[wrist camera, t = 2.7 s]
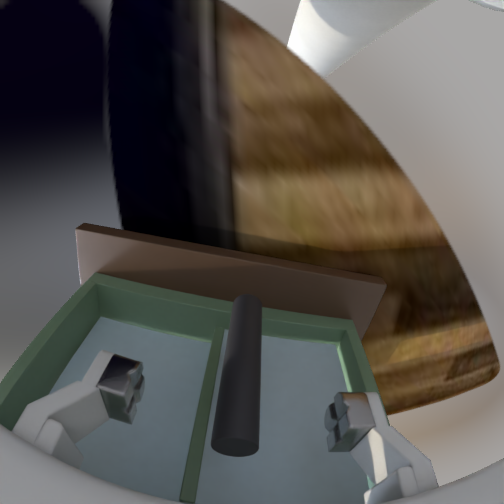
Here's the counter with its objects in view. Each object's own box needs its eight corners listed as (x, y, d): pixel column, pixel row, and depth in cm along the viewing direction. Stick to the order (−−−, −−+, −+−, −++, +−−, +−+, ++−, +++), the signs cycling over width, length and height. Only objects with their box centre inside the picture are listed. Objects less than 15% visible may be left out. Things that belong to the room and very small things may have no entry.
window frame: (84, 222, 17) (-80, 363, 4) (381, 276, 18) (489, 477, 4) (96, 331, 22) (13, 472, 8) (334, 375, 22) (364, 540, 9)
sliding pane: (224, 265, 15) (174, 465, 5) (359, 289, 16) (434, 461, 6) (214, 333, 17) (179, 503, 7) (333, 349, 18) (366, 506, 8)
